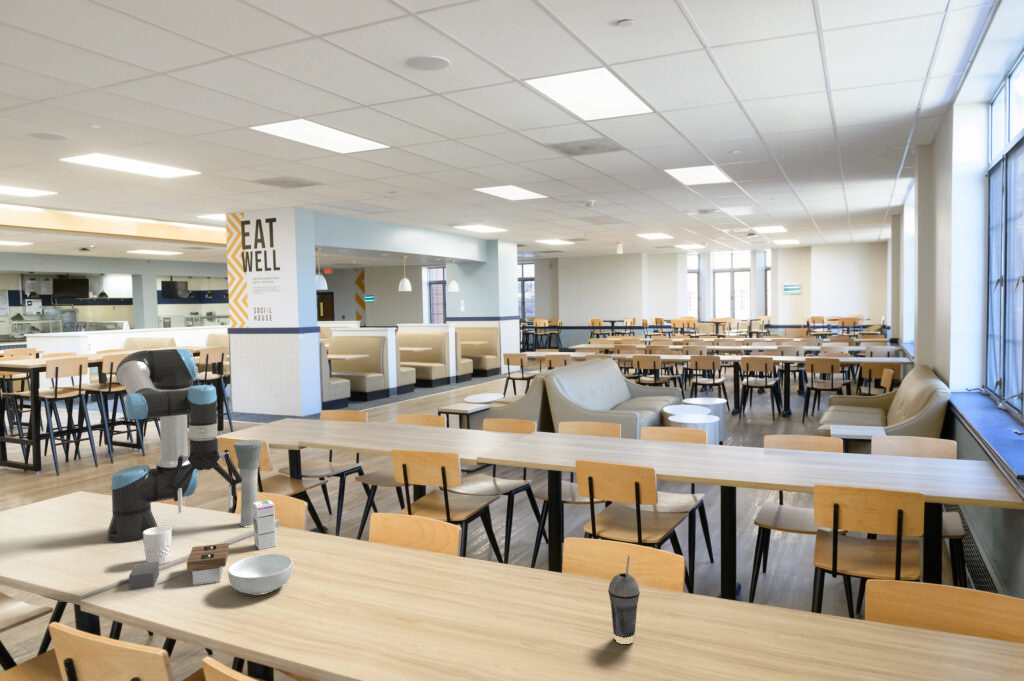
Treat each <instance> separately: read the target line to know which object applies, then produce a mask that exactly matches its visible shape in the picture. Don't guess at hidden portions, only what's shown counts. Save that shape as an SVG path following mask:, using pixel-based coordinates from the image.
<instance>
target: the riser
mask: <svg viewBox="0 0 1024 681" xmlns="http://www.w3.org/2000/svg"><path fill="white" fill-rule="evenodd" d="M159 576H160V565H159V562H150V563H146V562H143V563H136V564H135V565H134V567H133V568H132V570H131V572H130V573H129V575H128V581H129V582H128V583H129V586H128V587H129V590H130V591H131V590H132V591H133V590H140V589H146V588H154V586H155V585H156V583H157V580H158V578H159Z"/></svg>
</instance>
